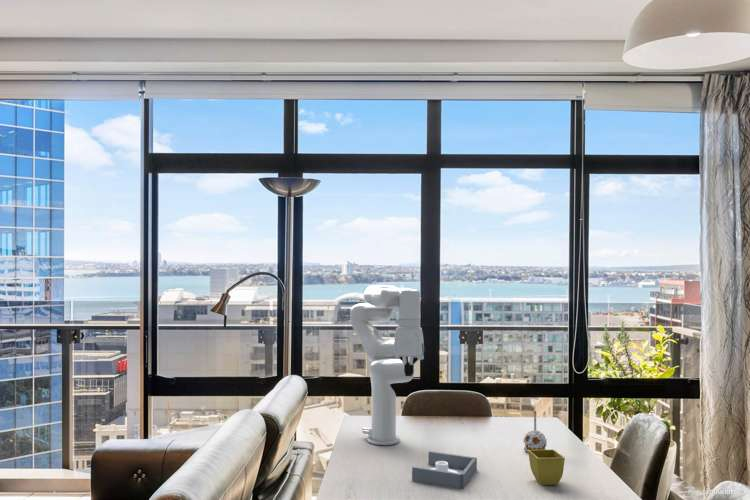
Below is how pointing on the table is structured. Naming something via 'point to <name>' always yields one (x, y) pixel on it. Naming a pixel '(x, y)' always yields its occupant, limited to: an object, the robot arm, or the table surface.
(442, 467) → the candle holder
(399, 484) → the table surface
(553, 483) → the flower pot
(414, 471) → the box
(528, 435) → the decorative ornament
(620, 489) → the table surface
